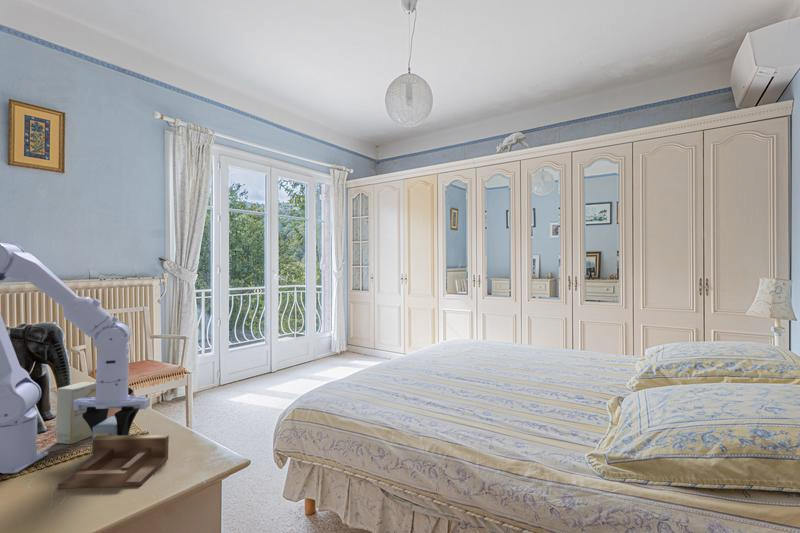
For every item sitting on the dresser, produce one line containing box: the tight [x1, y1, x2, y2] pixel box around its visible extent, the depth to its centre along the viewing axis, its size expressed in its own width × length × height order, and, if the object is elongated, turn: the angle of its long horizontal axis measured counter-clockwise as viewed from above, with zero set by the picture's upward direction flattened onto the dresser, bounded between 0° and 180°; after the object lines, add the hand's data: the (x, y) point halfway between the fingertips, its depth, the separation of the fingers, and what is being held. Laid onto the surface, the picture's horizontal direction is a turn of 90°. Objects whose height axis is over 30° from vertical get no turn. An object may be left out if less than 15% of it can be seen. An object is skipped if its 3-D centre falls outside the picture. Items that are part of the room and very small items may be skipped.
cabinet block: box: [91, 416, 130, 457], centre depth 87 cm, size 4×7×6 cm, turn 5°
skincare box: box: [55, 381, 96, 445], centre depth 92 cm, size 6×4×12 cm
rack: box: [57, 434, 170, 489], centre depth 78 cm, size 14×10×5 cm
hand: (111, 441), depth 87 cm, fingers closed on cabinet block, 4 cm apart
